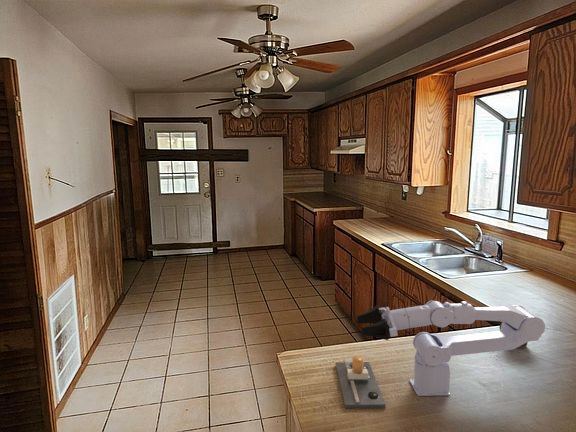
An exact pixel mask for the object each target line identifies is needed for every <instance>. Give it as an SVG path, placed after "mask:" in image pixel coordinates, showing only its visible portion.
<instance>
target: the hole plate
mask: <svg viewBox="0 0 576 432" xmlns="http://www.w3.org/2000/svg"><path fill="white" fill-rule="evenodd" d="M352 365H353V357H351V358H350V357H349V358H347V357H346V358H344V361H343V362H335V368H336V369H335V370H336V372H337V373H336V375H337V377H338V381H339V387H340V391H341V394H342V401H343V404H344V407H345V409H346V410H350V409H351V410H353V409H354V410H356V409H357V410H358V409H361V410H362V409H363V410H365V409H386V402H385V400H384V397H383V394H382V392H381V390H380V387H379V384H378V382H377V379H376V377H375V373H374V371H373V369H372V367H371V364H370V362H369V361H365V360H364V358H363V369H367V371H368V376H370V378H369V379H348V376H347V369H352Z"/></svg>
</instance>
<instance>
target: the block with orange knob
mask: <svg viewBox="0 0 576 432" xmlns="http://www.w3.org/2000/svg"><path fill="white" fill-rule="evenodd" d="M352 358H353V365H352V369H347V376H348V379H369V378H370V376H368V371H367V369H363V359H364V358H363V357H361V356H359V355H355V356H353V357H352Z"/></svg>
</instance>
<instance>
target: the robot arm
mask: <svg viewBox="0 0 576 432" xmlns="http://www.w3.org/2000/svg"><path fill="white" fill-rule="evenodd" d="M356 321H357V324H362V325H363V324H369V325H364V326H362V327H360V331H361V336H363V337H373V338H380V339H383V340H385V341H389V339H390V338H389V336H390V337H391V338H392V337H398V331H400V330H401V331H402V330H406V329H407V330H408V329H414V328H419V327H420V328H421V327H426V326H431V325H434V326H436V327H438V328H446V327H448V326H449V325H455V324H456V325H459V324H461V325H472V324H473V323H474V322H475V321H491V322H501V323H502V325H501V329H500V328H499V330H496V331H485V332H477V333H475V332H474V333H469V334H468V333H467V334H459V335H458V334H457V335H451V336H450V335H449V336H445V335H443V334H439V333H429V332H426V331H420V332H418V333H417V334H415V336H414V337H413V340H412V345H413V347H414V349H415V350H416V352H415V355H414V370H413V371H414V373H413V375H414V376H413V378H409V380H408V381H409V383H410V384H411V386H412V389H413V390H414V392H415V394H416V395H417V396H418V397H419V396H421V397H424V396H425V397H426V396H427V397H428V396H450V395H451V393H450V381H451V380H450V377H451V373H450V372H451V371H450V369H451V368H450V366H449V362H450V360H451V358H452V357H456V356H463V355H464V356H465V355H473V354H481V353H482V354H483V353H493V352H502V351H511V350H515V349H517V347H519V346H521V345H523V344H525V343H527V342H537V341H539V340H540V338H541V337H542V335H543V334H544V332H545V331H546V323H545V322H544V320H543V319H542V318H541V317H539V316H536V315H535V314H534V313H531V311H529V310H528V309H526V308H525V307H524V306H523V305H519V304H518V305H517V304H514V305H512V304H507V305H503V306H502V305H501V306H484V307H483V306H482V307H481V306H480V307H479V306H478V307H474V306H473V305H472V304H471V303H468V302H467V301H461V302H460V303H452V302H451V303H450V302H448V301H444V303H441V302H440V301H438V300H433V299H431V300H429V301H427V302H426V303H425V304H424V305H416V306H409V307H403V308H397V309H392V310H390V307H389V306H386V307H380V306H379V305H375V306H373V308H371V309H369V310H368V311H366V312H364V313H361V314H358V315H357V316H356ZM502 321H503V322H502ZM527 344H528V343H527Z"/></svg>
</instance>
